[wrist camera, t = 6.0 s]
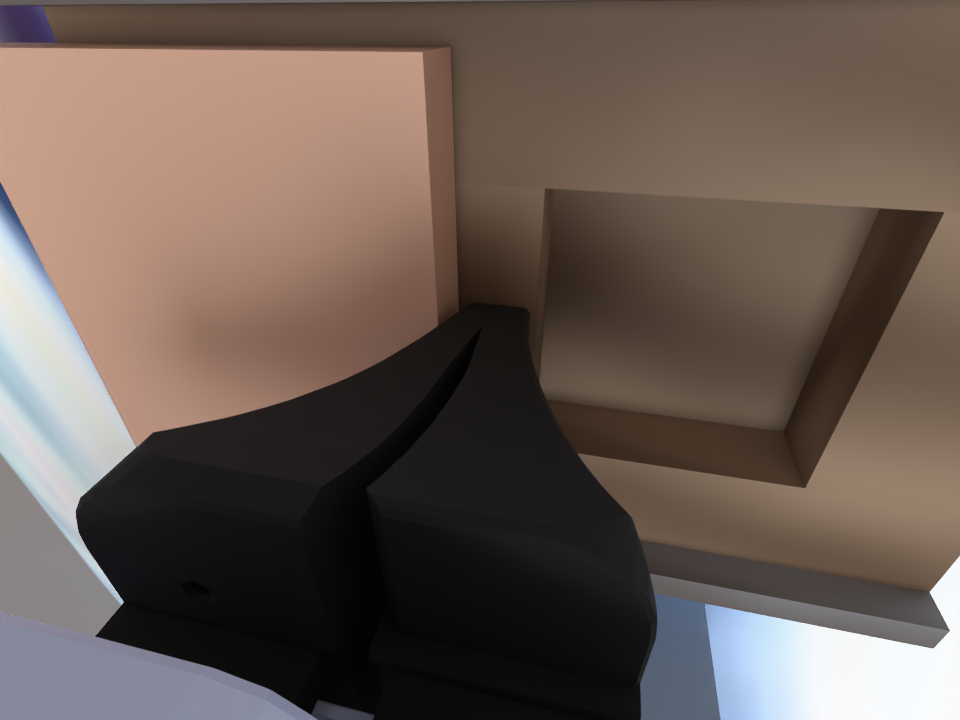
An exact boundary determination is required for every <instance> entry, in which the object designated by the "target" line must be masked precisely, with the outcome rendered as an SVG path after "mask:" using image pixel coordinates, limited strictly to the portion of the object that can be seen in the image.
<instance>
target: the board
mask: <svg viewBox="0 0 960 720" xmlns="http://www.w3.org/2000/svg"><path fill="white" fill-rule="evenodd" d="M0 5H14V6H43V8H44V11H45V13H46V16H47V18H48V21H49V23H50V26H51V29H52V31H53V34H54V36H55V39H56V41H57V43H109V44H229V45H349V46H451V71H452V104H453V136H454V169H455V202H456V235H457V268H458V301H459V311H460V310H461V309H463V308H464V307H466V306H467V305H469V304H470V303H472V302H474V303H484V304H494V305H503V306H513V307H523V308H526V309H527V310H528V311H529V313H530V327H529V347H530V352H531V356H532V360H533V364H534V368H535V371H536V374H537V377H538V380H539V383H540V385H541V388H542V390H543V393H544V395H545V398H546V400H547V402H548V404H549V406H550V408H551V410H552V413H553V415H554V416H555V418H556V420H557V422H558V424H559V426H560V427H561V429H562V431H563V433H564V434H565V436H566V437H567V439H568V440H569V442H570V443H571V445H572V446H573V448H574V449H575V451H576V452H577V454H578V455H579V457H580V458H581V459H582V461H583V462H584V464H585V465H586V466H587V468H588V469H589V470H590V471H591V473H592V474H593V475H594V476H595V478H596V479H597V480H598V481H599V483H600V484H601V485H602V486H603V487H604V488H605V490H606V491H607V492H608V493H609V494H610V495H611V496H612V497H613V498H614V499H615V500H616V501H617V502H618V503H619V504H620V505H621V506H622V508H623V509H624V510H625V511H626V512H627V513H628V514H629V515H630V516H631V517H632V519H633V522H634V525H635V527H636V530H637V533H638V536H639V539H640V542H641V545H642V548H643V551H644V555H645V558H646V561H647V565H648V568H649V572H650V577H651V581H652V585H653V590H654V593H655V594H660V595H665V596H670V597H675V598H680V599H685V600H690V601H696V602H701V603H706V604H711V605H716V606H721V607H726V608H731V609H736V610H741V611H746V612H751V613H756V614H761V615H766V616H771V617H777V618H782V619H787V620H792V621H797V622H802V623H807V624H812V625H817V626H822V627H827V628H832V629H837V630H842V631H847V632H852V633H857V634H863V635H868V636H873V637H878V638H883V639H888V640H893V641H898V642H903V643H908V644H913V645H918V646H923V647H928V648H934V647H935V646H936V645H937V644H938V643H939V642H940V641H941V640H942V639H943V637H944V636H945V635H946V634H947V633H948V632H949V631H950V630H949V628H948V627H947V625H946V623H945V621H944V619H943V617H942V615H941V613H940V611H939V610H938V608H937V606H936V604H935V602H934V600H933V598H932V596H931V594H930V591H931V589H932V588H933V587H934V586H935V585H936V583H937V582H938V581H939V580H940V579H941V577H942V576H943V575H944V574H945V573H946V571H947V570H948V569H949V568H950V567H951V565H952V564H953V563H954V562H955V561H956V559H957V558H958V557H959V556H960V0H0Z"/></svg>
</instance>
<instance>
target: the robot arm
mask: <svg viewBox="0 0 960 720" xmlns="http://www.w3.org/2000/svg"><path fill="white" fill-rule="evenodd" d="M529 327H530V313H529V311H528V310H527V309H526V308H523V307H513V306H503V305H494V304H484V303H474V302H472V303H470V304H469V305H467V306H466V307H464V308H463V309H461V310H460V311H458V312H457V313H456V314H454V315H453V316H451V317H450V318H449V319H447V320H446V321H444V322H443V323H441V324H440V325H438V326H437V327H436V328H434V329H433V330H431V331H430V332H428V333H427V334H425V335H424V336H422V337H421V338H419V339H418V340H416V341H414V342H413V343H411V344H409V345H408V346H406V347H404V348H403V349H401V350H399V351H398V352H396V353H394V354H393V355H391V356H389V357H388V358H386V359H384V360H383V361H381V362H379V363H377V364H375V365H373V366H371V367H369V368H367V369H365V370H363V371H361V372H359V373H357V374H354V375H352V376H350V377H348V378H346V379H344V380H341V381H339V382H336V383H334V384H331V385H329V386H326V387H323V388H321V389H318V390H315V391H313V392H310V393H307V394H305V395H302V396H299V397H297V398H294V399H291V400H288V401H284V402H281V403H278V404H275V405H271V406H268V407H265V408H261V409H257V410H254V411H250V412H246V413H243V414H239V415H235V416H231V417H227V418H222V419H218V420H213V421H208V422H203V423H198V424H193V425H188V426H184V427H179V428H174V429H169V430H163V431H157V432H153V433H152V434H151V435H150V436H149V437H147V438H146V439H145V440H144V441H143V442H142V443H141V444H140V445H139V446H138V447H136V448H135V449H134V450H133V451H132V452H131V453H130V454H129V455H128V456H126V457H125V458H124V459H123V460H122V461H121V462H120V463H119V464H118V465H117V466H115V467H114V468H113V469H112V470H111V471H110V472H109V473H108V474H107V475H105V476H104V477H103V478H102V479H101V480H100V481H99V482H98V483H97V484H95V485H94V486H93V487H92V488H91V489H90V490H89V491H88V492H87V493H85V494H84V495H83V496H82V497H81V498H80V501H79V504H78V506H77V509H76V519H77V525H78V531H79V534H80V536H81V538H82V539H83V541H84V543H85V545H86V547H87V549H88V550H89V552H90V553H91V555H92V556H93V557H94V559H95V560H96V562H97V563H98V565H99V566H100V568H101V569H102V571H103V572H104V574H105V575H106V576H107V578H108V579H109V581H110V582H111V584H112V585H113V587H114V588H115V590H116V591H117V592H118V594H119V595H120V597H121V598H122V600H123V601H124V603H123V604H122V605H121V607H120V608H119V609H118V610H117V611H116V613H115V614H114V615H113V616H112V617H111V618H110V620H109V621H108V622H107V623H106V625H105V626H104V627H103V628H102V629H101V630H100V632H99V633H98V634H97V635H96V636H95V637H94V636H90V635H87V634H83V633H79V632H75V631H71V630H68V629H63V628H60V627H56V626H52V625H49V624H45V623H41V622H37V621H34V620H30V619H26V618H22V617H18V616H15V615H11V614H7V613H3V612H0V720H641V689H640V682H641V680H642V677H643V674H644V671H645V668H646V665H647V663H648V660H649V657H650V654H651V651H652V649H653V646H654V643H655V640H656V634H657V624H658V620H657V608H656V601H655V596H654V590H653V585H652V581H651V577H650V572H649V568H648V565H647V561H646V558H645V555H644V551H643V548H642V545H641V542H640V539H639V536H638V533H637V530H636V527H635V525H634V522H633V519H632V517H631V516H630V515H629V514H628V513H627V512H626V511H625V510H624V509H623V508H622V506H621V505H620V504H619V503H618V502H617V501H616V500H615V499H614V498H613V497H612V496H611V495H610V494H609V493H608V492H607V491H606V490H605V488H604V487H603V486H602V485H601V484H600V483H599V481H598V480H597V479H596V478H595V476H594V475H593V474H592V473H591V471H590V470H589V469H588V468H587V466H586V465H585V464H584V462H583V461H582V459H581V458H580V457H579V455H578V454H577V452H576V451H575V449H574V448H573V446H572V445H571V443H570V442H569V440H568V439H567V437H566V436H565V434H564V433H563V431H562V429H561V427H560V426H559V424H558V422H557V420H556V418H555V416H554V415H553V413H552V410H551V408H550V406H549V404H548V402H547V400H546V398H545V395H544V393H543V390H542V388H541V385H540V383H539V380H538V377H537V374H536V371H535V368H534V364H533V360H532V356H531V352H530V347H529Z"/></svg>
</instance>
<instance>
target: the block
mask: <svg viewBox="0 0 960 720" xmlns="http://www.w3.org/2000/svg"><path fill="white" fill-rule="evenodd" d="M654 596H655V601H656V608H657V620H658V624H657V634H656V640H655V643H654V646H653V649H652V651H651V654H650V657H649V660H648V663H647V665H646V668H645V671H644V674H643V677H642V680H641V682H640V689H641V720H720V714H719V706H718V699H717V692H716V685H715V677H714V670H713V663H712V656H711V648H710V641H709V634H708V627H707V619H706V612H705V605H704V603H701V602H696V601H690V600H685V599H680V598H675V597H670V596H665V595H660V594H655V593H654Z"/></svg>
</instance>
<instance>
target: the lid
mask: <svg viewBox="0 0 960 720" xmlns="http://www.w3.org/2000/svg"><path fill="white" fill-rule="evenodd" d="M0 182H1V184H2V186H3V188H4V190H5V191H6V193H7V195H8V197H9V199H10V201H11V203H12V205H13V207H14V209H15V211H16V213H17V215H18V217H19V219H20V221H21V223H22V225H23V227H24V229H25V231H26V233H27V234H28V236H29V238H30V240H31V242H32V244H33V246H34V248H35V250H36V252H37V254H38V256H39V258H40V260H41V262H42V264H43V266H44V268H45V270H46V272H47V274H48V276H49V277H50V279H51V281H52V283H53V285H54V287H55V289H56V291H57V293H58V295H59V297H60V299H61V301H62V303H63V305H64V307H65V309H66V311H67V313H68V315H69V317H70V319H71V320H72V322H73V324H74V326H75V328H76V330H77V332H78V334H79V336H80V338H81V340H82V342H83V344H84V346H85V348H86V350H87V352H88V354H89V356H90V358H91V360H92V361H93V363H94V365H95V367H96V369H97V371H98V373H99V375H100V377H101V379H102V381H103V383H104V385H105V387H106V389H107V391H108V393H109V395H110V397H111V399H112V401H113V403H114V404H115V406H116V408H117V410H118V412H119V414H120V416H121V418H122V420H123V422H124V424H125V426H126V428H127V430H128V432H129V434H130V436H131V438H132V440H133V442H134V444H135V446H136V447H138V446H139V445H140V444H141V443H142V442H143V441H144V440H145V439H146V438H147V437H149V436H150V435H151V434H152V433H153V432H157V431H163V430H169V429H174V428H179V427H184V426H188V425H193V424H198V423H203V422H208V421H213V420H218V419H222V418H227V417H231V416H235V415H239V414H243V413H246V412H250V411H254V410H257V409H261V408H265V407H268V406H271V405H275V404H278V403H281V402H284V401H288V400H291V399H294V398H297V397H299V396H302V395H305V394H307V393H310V392H313V391H315V390H318V389H321V388H323V387H326V386H329V385H331V384H334V383H336V382H339V381H341V380H344V379H346V378H348V377H350V376H352V375H354V374H357V373H359V372H361V371H363V370H365V369H367V368H369V367H371V366H373V365H375V364H377V363H379V362H381V361H383V360H384V359H386V358H388V357H389V356H391V355H393V354H394V353H396V352H398V351H399V350H401V349H403V348H404V347H406V346H408V345H409V344H411V343H413V342H414V341H416V340H418V339H419V338H421V337H422V336H424V335H425V334H427V333H428V332H430V331H431V330H433V329H434V328H436V327H437V326H438V325H440V324H441V323H443V322H444V321H446V320H447V319H449V318H450V317H451V316H453V315H454V314H456V313H457V312H458V311H459V301H458V268H457V235H456V202H455V169H454V136H453V104H452V71H451V46H349V45H229V44H109V43H0Z"/></svg>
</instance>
